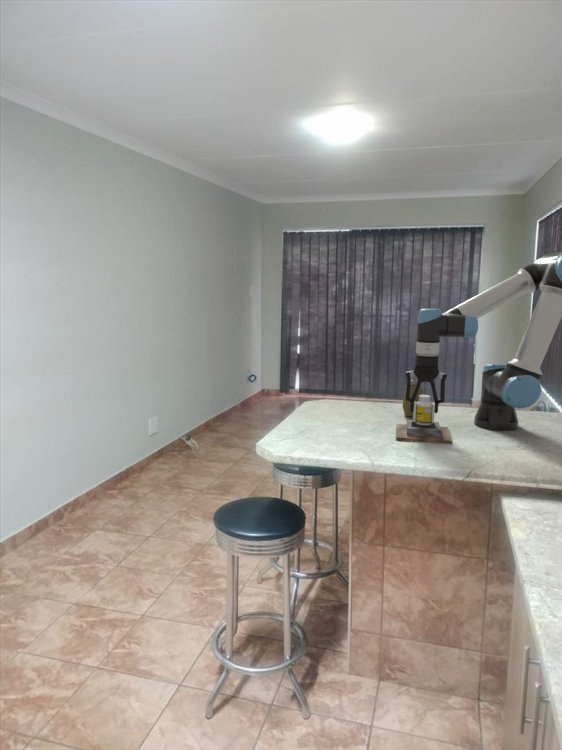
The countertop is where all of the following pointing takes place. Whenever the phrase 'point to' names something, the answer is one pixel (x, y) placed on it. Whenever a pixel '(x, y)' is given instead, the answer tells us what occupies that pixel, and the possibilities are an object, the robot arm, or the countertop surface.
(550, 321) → the robot arm
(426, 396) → the supplement bottle
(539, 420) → the countertop surface
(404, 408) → the squeeze bottle
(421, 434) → the socket holder
